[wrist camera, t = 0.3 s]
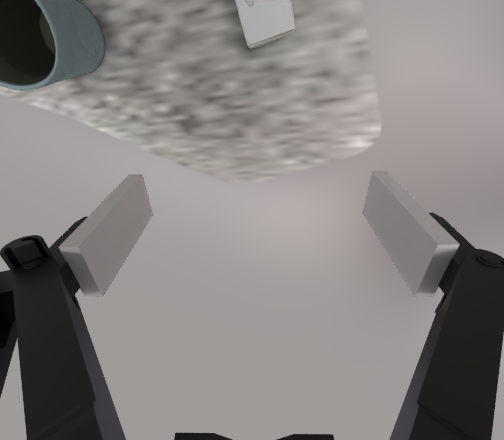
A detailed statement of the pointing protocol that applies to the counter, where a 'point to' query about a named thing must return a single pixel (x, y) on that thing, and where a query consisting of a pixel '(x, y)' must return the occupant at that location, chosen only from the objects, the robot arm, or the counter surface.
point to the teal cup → (47, 42)
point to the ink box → (265, 20)
